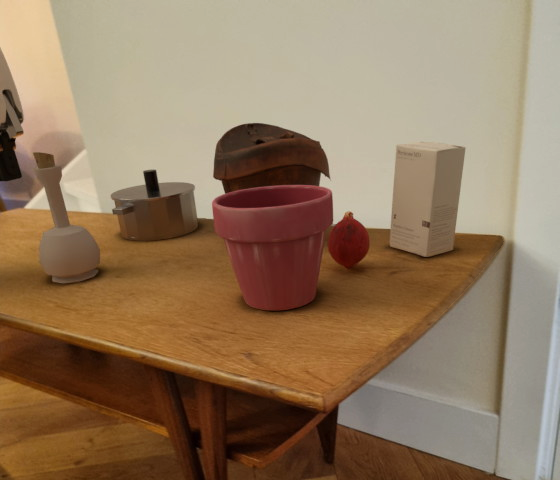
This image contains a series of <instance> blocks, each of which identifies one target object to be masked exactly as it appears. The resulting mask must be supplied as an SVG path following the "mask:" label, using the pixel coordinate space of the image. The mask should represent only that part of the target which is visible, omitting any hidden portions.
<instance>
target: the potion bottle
mask: <svg viewBox="0 0 560 480" xmlns="http://www.w3.org/2000/svg"><path fill="white" fill-rule="evenodd" d="M32 155H33V157H34V160H35V163H36V166H37V167H34V168H33V169H32V171H33V172H34V175H35V177H36V179H37V181H38V182H39V183H40V184H42V185H43V188H44V192H45V195H46V200H47V203H48V206H49V210H50V214H51V218H52V221H53V225H54V227H51V228H50V229H47V230H45V231H43V232H42V235H41V239H40V241H39V246H38V260H39V264H40V265H41V267H42V269H43V271H44V272H45V274H46V275H48V276H52V278H51V281H52V283H56V284H57V283H58V284H71V283H79V282H83V281H85V280H89V279H92V278H94V277H95V276H96V275H97V274H98V273H99V270H98V269H96V268H97V267H98V266H99V265H100V264H101V249H100V247H99V245H98V243H97V241H96V239H95V237H94V236H93V234H91V232H89V230H88V229H87V228H86V227H84V226H83V225H76V224H71V223H70V218H69V214H68V211H67V208H66V204H65V199H64V196H63V192H62V188H61V187H62V186H61V184H60V183H61V181H62V177H63V171H62V165H59V164H56V162H55V156H54V154H53V153H49V152H48V153H47V152H38V151H37V152H36V151H35V152H32Z"/></svg>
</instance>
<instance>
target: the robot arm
mask: <svg viewBox="0 0 560 480" xmlns="http://www.w3.org/2000/svg"><path fill="white" fill-rule="evenodd" d="M3 52H4V51H3V49H2V48H1V47H0V182H10V181H14V180H17V179H18V180H19V179H22V178H23V174H22V171H21V167H20V164H19V161H18V157H17V155H16V149H17V144H16V140H17V139H18V138H19V137H21V136H23V135H24V133H25V132H24V129H23V127H22V124H23V123H24V121H25V114H24V110H23V105H22V102H21V100H20V99H21V98H20V94H19V92H18V89H17V86H16V82H15V80H14V77H13V75H12V72H11V70H10V67H9V63H8V62H7V59H6V57H5V54H4V53H3Z"/></svg>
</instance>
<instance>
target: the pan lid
mask: <svg viewBox="0 0 560 480" xmlns="http://www.w3.org/2000/svg"><path fill="white" fill-rule="evenodd" d="M142 174H143V180H144V184H139V185H134V186H129V187H125V188H122V189H118V190H116V191H113V192H112V193H111V194H110V199H111V200H112V201H119V202H146V201H156V200H163V199H169V198H174V197H179V196H182V195H186V194H188V193H191V192H193V191H195V190H196V186H195V184H193V183H190V182H185V181H184V182H183V181H180V182H179V181H169V182H168V181H166V182H159V179H158V172H157V169H146V170H143V171H142Z"/></svg>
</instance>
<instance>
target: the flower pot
mask: <svg viewBox="0 0 560 480" xmlns="http://www.w3.org/2000/svg"><path fill="white" fill-rule="evenodd" d="M211 206H212V207H211V208H212V218H213V225H214V233H215V234H216V235H217V236H218V237H220V239H221V238H222V239H223V241H224V244H225V248H226V251H227V254H228V257H229V260H230V263H231V266H232V269H233V273H234V275H235V278H236V281H237V283H238V286H239V288H240V291H241V294H242V297H243V300H244V302H245V304H247V305H248V306H249V307H251V308H253V309H257V310H261V311H262V310H263V311H287V310H291V309H297V308H300V307H303V306H306V305H308V304H310V303H311V302H313V301H314V299H315V297H316V295H317V289H318V284H319V277H320V272H321V267H322V260H323V259H322V258H323V254H324V248H325V242H326V241H325V240H326V234H327V233H326V232H327V230H328V229H329V228H331V227H332V226H333V224H334V198H333V191H332V190H331V189H330V188H328V187H324V186H320V185H319V186H313V185H279V186H265V187H256V188H249V189H243V190H238V191H233V192H229V193H226V194H225V193H223V194H221V195H218V196H217V197H214V199H213V200H212V202H211Z"/></svg>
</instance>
